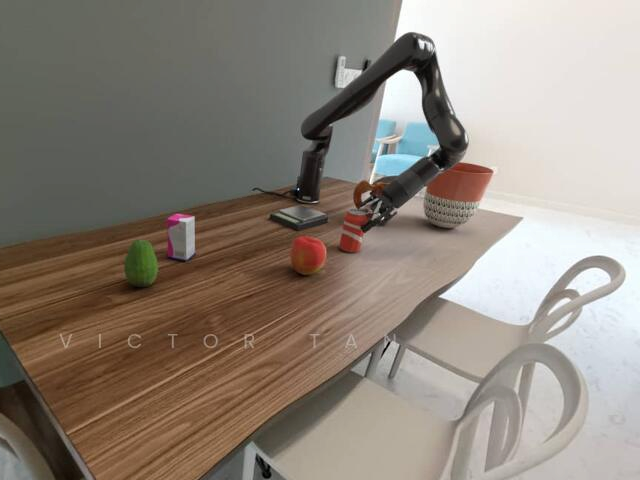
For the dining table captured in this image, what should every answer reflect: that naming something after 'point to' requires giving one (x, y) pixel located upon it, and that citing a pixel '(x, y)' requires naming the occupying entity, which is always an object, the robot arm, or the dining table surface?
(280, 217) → the scale
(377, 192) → the mug
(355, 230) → the beverage can
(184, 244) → the supplement box
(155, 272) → the avocado
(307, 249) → the apple
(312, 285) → the dining table surface
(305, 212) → the scale pan
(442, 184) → the planter
